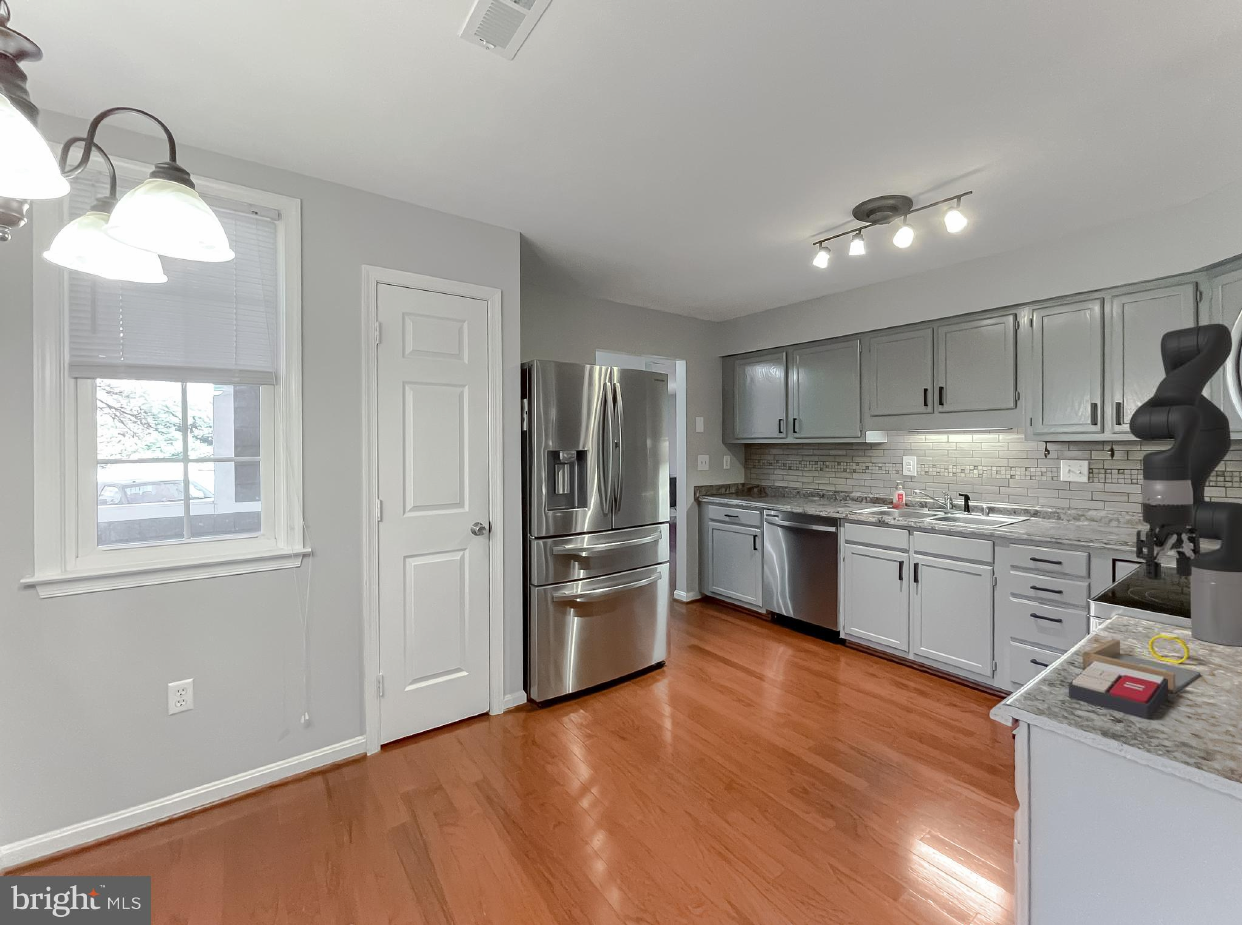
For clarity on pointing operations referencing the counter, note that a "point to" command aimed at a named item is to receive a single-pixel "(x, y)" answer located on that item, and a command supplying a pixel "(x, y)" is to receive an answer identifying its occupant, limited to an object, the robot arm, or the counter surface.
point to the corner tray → (1139, 664)
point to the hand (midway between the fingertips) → (1169, 577)
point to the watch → (1173, 637)
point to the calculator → (1120, 689)
